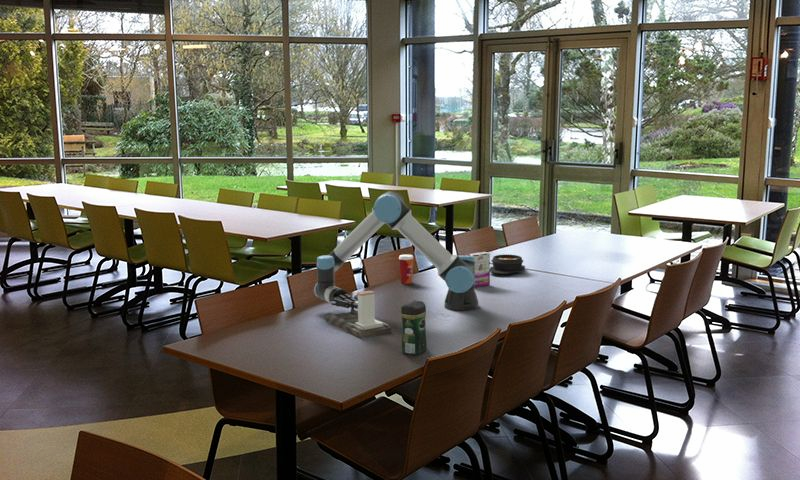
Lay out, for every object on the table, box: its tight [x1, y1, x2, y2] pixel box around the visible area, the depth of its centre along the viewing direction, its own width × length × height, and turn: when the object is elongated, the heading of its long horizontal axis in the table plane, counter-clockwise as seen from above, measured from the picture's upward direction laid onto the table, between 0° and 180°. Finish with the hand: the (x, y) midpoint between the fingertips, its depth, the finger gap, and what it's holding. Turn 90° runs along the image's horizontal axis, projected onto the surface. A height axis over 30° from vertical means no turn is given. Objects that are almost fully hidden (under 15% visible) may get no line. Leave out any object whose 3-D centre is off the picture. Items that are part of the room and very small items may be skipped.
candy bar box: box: [465, 251, 491, 288], centre depth 386 cm, size 11×5×16 cm, turn 117°
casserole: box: [490, 254, 526, 275], centre depth 417 cm, size 25×19×8 cm
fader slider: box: [355, 290, 383, 330], centre depth 310 cm, size 7×9×14 cm
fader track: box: [325, 309, 393, 339], centre depth 319 cm, size 30×14×3 cm, turn 32°
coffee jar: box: [400, 300, 428, 355], centre depth 285 cm, size 10×8×19 cm
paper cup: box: [398, 254, 414, 285], centre depth 395 cm, size 8×8×14 cm
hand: (363, 308), depth 313 cm, fingers closed
